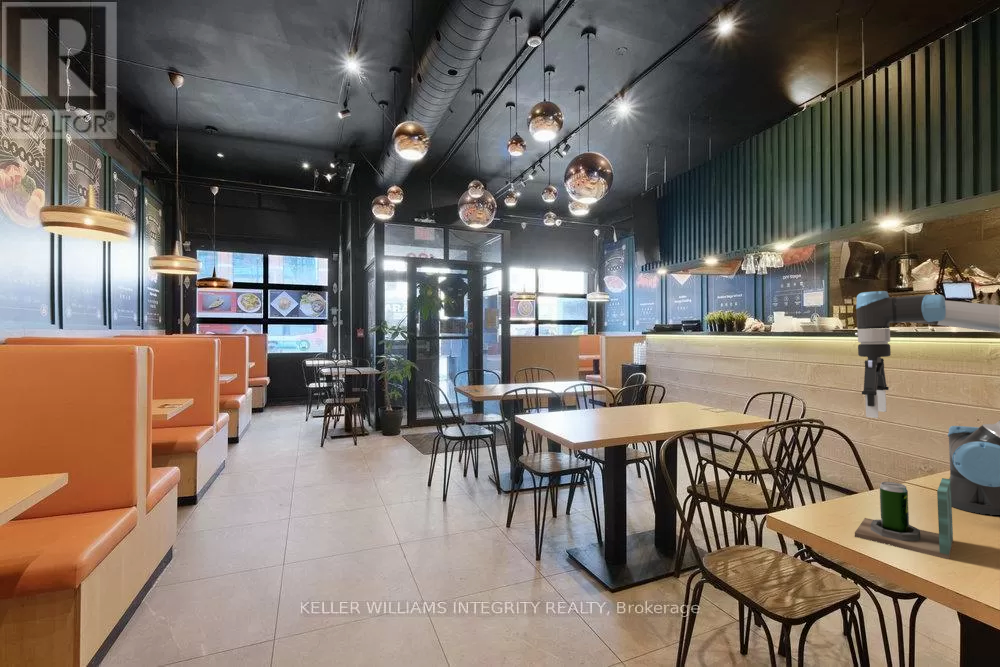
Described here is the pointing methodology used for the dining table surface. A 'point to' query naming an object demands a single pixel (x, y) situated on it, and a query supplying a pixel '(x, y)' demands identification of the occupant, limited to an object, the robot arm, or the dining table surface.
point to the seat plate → (915, 537)
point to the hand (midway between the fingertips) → (876, 414)
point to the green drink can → (894, 507)
